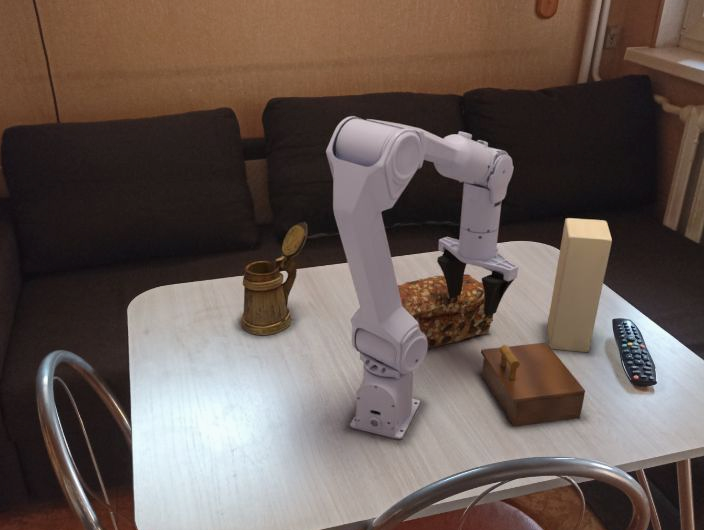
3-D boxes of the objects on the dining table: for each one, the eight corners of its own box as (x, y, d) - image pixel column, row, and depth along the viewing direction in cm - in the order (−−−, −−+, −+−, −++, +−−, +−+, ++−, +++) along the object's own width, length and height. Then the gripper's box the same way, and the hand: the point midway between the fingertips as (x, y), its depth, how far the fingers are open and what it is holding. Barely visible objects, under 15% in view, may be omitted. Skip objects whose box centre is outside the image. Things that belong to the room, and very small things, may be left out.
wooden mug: (321, 321, 129) (318, 230, 120) (252, 340, 123) (244, 246, 114) (300, 300, 136) (296, 213, 126) (234, 318, 130) (225, 228, 121)
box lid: (512, 402, 100) (516, 379, 98) (480, 352, 111) (482, 331, 109) (584, 393, 101) (589, 371, 99) (545, 345, 113) (549, 323, 111)
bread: (399, 358, 118) (400, 307, 113) (373, 328, 126) (373, 279, 121) (494, 335, 124) (499, 285, 119) (462, 308, 132) (466, 260, 127)
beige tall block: (593, 353, 118) (617, 239, 108) (549, 349, 119) (567, 236, 109) (589, 330, 125) (610, 220, 114) (547, 326, 126) (564, 217, 116)
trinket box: (513, 426, 102) (516, 402, 100) (481, 374, 113) (484, 352, 111) (580, 417, 103) (584, 394, 101) (542, 367, 115) (545, 345, 113)
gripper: (535, 233, 103) (524, 313, 110) (462, 206, 113) (456, 281, 120) (503, 246, 99) (494, 328, 106) (431, 217, 109) (426, 293, 116)
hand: (472, 304), depth 113 cm, fingers open, 7 cm apart
